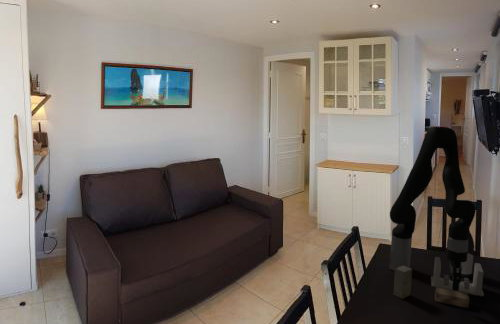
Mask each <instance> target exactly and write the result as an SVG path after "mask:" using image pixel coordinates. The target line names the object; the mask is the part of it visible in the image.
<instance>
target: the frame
mask: <svg viewBox="0 0 500 324" xmlns="http://www.w3.org/2000/svg"><path fill="white" fill-rule="evenodd" d="M433 265H434V266H433V275H431V276H430V283H431V284H430V285H431V287H432V288H435V289H436V288H441V289H446V290H451V291H455V290H453V289H452V285H453V281H451V280H450V277H449V274H443V275H444V276H443V278H442V277H441V269H442V263H441V257H439V256H434V263H433ZM473 268H474V269H473V278H472V283H471V282H470V279H469V277H463V281H461V283H459V291H456V292H461V293H466V294H468V295H473V296H478V295H479V296H478V297H483V296H485V295H484V291H483V282H484V281H483V279H484V270H483V268H482V264H481V263H477V262H475V263H474V267H473Z"/></svg>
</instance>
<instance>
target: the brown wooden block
mask: <svg viewBox="0 0 500 324" xmlns="http://www.w3.org/2000/svg"><path fill="white" fill-rule="evenodd" d="M434 301H435V302H438V303H442V304H447V305H451V306H452V305H453V306H457V307H461V308H466V309H469V306H470V297H469V294H468V293H462V292H457V291H452V290H447V289H441V288H436V287H435V291H434Z"/></svg>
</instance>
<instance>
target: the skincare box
mask: <svg viewBox="0 0 500 324" xmlns="http://www.w3.org/2000/svg"><path fill="white" fill-rule="evenodd" d="M412 273H413V268H411V267H410V268H409V267H406V266H404V265H403V266H400V267H398V268H395V271H394V282H393V295H394V296H396V297H397V298H400V299H405V298H406V297H407V298H408V297H409V296H411V292H412V291H411V289H412V279H413V278H412V275H413V274H412Z"/></svg>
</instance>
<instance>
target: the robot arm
mask: <svg viewBox="0 0 500 324" xmlns="http://www.w3.org/2000/svg"><path fill="white" fill-rule="evenodd" d="M456 133H457V132H456V131H455V130H454V129H452V128H450V127H444V126H443V127H441V126H431V127H430V128H428V130H427V131H426V133H425V135H424V137H423V140H422V144H421V146H420V149H419V151H418V154H417V157H416V158H415V159H416V160H415V161H414V164H413V165H412V168H411V170H410V172H409V173H408V176H407V178H406V180H405V182H404V184H403V187H402V189H401V191H400V192H399V195H398V197H397V198H396V200H395V201H394V203H393V205H392V206H391V208H390V210H389V218H390V220H391V222H392V223H394V224H395V225H396V226H395V227H393V228H392V230H391V242H390V243H391V244H390V252H389V268H388V269H389V270H392V271H393V272H395V268H398V267H400V266H403V265H404V266H406V267H409V268H411V256H412V255H411V254H412V242H413V241H412V240H413V234H414V232H415V228H416V219H417V211H416V208H415V207H414V205H412V204H413V203H414V202H415V200H417V198H419V197H420V196H421V195H422V194H423V193H424V192H425V191H426V189H427V187H428V186H429V184H430V182H431V180H432V178H433V173H434V172H433V171H434V170H433V166H432V165H433V163H432V160H433V156H434V154H435V152H436V151H437V149H442V150H443V152H444V156H445V157H444V159H445V161H444V165H443V168H442V169H443V170H442V173H441V174H442V175H441V176H442V177H441V178H442V183H443V186H444V187H443V188H444V191H445V199H444V200H445V202H444V210H445V213H446V215H447V216H448V217H449V218H451V219H457V220H456V221H453V222H450V223H449V226H448V233H447V235H448V236H447V239H446V252H445V257H446V259H447V260H448V261H449V271H450V277H449V279H450V280H451V281H453V285H452V289H453V290H455V291H456V292H457V291H459V283H461V282H462V277H461V270H462V266H461V263H462V262H466V261H467V255H468V233H469V231H470V229H471V228H470V227H471V226H472V223H473V221H474V218H475V216H476V206H475V204H474V203H473V202H472V201H471V200H467V199H464V200H462V199H460V200H459V199H458V196H461V195H463V194H465V192H466V188H465V184H464V180H463V176H462V172H461V168H460V161H459V159H460V157H459V156H460V155H459V146H458V138H457V134H456ZM469 228H470V229H469Z"/></svg>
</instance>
